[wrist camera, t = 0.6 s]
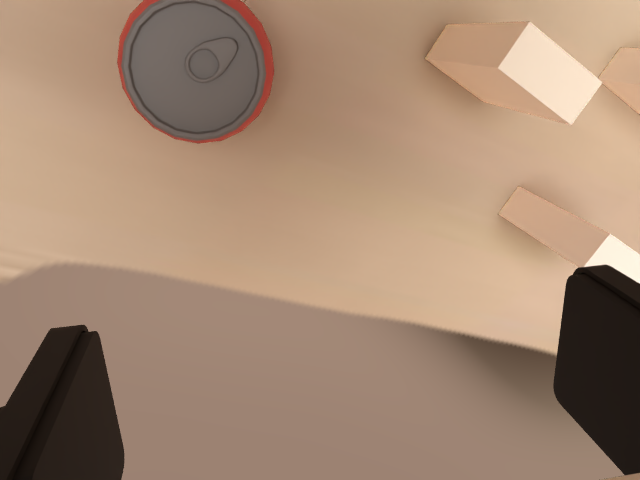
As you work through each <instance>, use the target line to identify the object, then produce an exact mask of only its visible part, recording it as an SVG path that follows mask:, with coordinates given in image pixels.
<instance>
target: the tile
mask: <svg viewBox="0 0 640 480" xmlns="http://www.w3.org/2000/svg"><path fill="white" fill-rule="evenodd" d="M425 59H426V60H427V61H429V62H430V63H431V64H433V65H434V66H435V67H437V68H438V69H439V70H441V71H442V72H443V73H445V74H446V75H447V76H449V77H450V78H451V79H453V80H454V81H456V82H457V83H458V84H460V85H461V86H462V87H464V88H465V89H466V90H468V91H469V92H470V93H472V94H473V95H474V96H476V97H477V98H478V99H480V100H481V101H482V102H486V103H490V104H493V105H497V106H501V107H505V108H508V109H512V110H516V111H520V112H523V113H527V114H531V115H535V116H539V117H542V118H546V119H550V120H554V121H557V122H561V123H565V124H569V125H572V123H573V122H574V121H575V119H576V118H577V117H578V115H579V114H580V113H581V111H582V110H583V109H584V107H585V106H586V104H587V103H588V102H589V100H590V99H591V98H592V96H593V95H594V94H595V92H596V91H597V90H598V88H599V87H600V86H601V84H602V83H603V82H602V81H600V80H599V79H598V78H597V77H596V76H594V75H593V74H592V73H591V72H590V71H588V70H587V69H586V68H585V67H584V66H582V65H581V64H580V63H579V62H578V61H576V60H575V59H574V58H573V57H572V56H570V55H569V54H568V53H567V52H566V51H564V50H563V49H562V48H561V47H560V46H558V45H557V44H556V43H555V42H554V41H553V40H551V39H550V38H549V37H548V36H547V35H545V34H544V33H543V32H542V31H541V30H539V29H538V28H537V27H536V26H535V25H533V24H532V23H531V22H503V23H475V24H447V25H446V27H445V28H444V30H443V31H442V33H441V35H440V36H439V38H438V39H437V41H436V42H435V44H434V45H433V47H432V48H431V50H430V51H429V53H428V54H427V56H426V57H425Z"/></svg>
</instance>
